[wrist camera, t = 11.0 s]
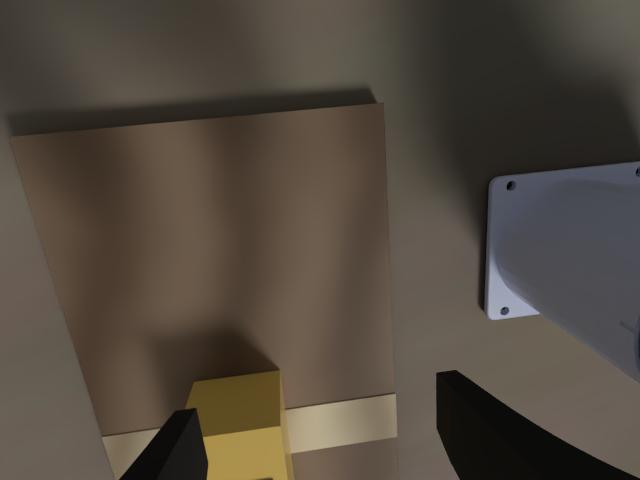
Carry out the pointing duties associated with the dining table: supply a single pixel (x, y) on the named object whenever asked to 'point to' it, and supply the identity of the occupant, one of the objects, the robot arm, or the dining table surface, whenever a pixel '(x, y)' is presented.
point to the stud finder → (244, 427)
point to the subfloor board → (228, 273)
